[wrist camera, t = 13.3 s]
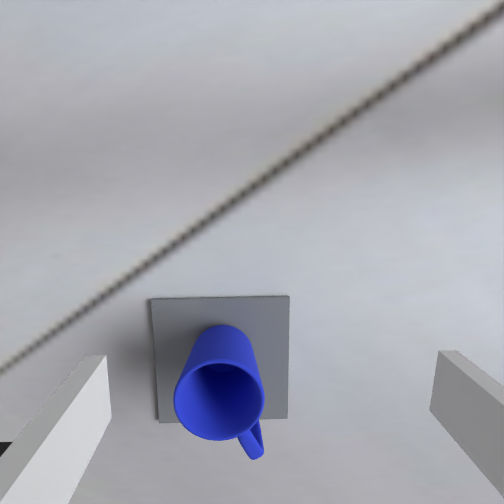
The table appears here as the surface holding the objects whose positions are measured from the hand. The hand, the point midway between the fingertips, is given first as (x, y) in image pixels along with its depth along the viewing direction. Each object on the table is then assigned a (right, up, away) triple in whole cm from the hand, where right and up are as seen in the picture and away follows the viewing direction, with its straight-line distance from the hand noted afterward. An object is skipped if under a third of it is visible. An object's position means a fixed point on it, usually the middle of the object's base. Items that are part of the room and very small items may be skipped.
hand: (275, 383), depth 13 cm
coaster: (-5, -8, +27) cm, 29 cm away
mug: (-4, -8, +27) cm, 28 cm away
